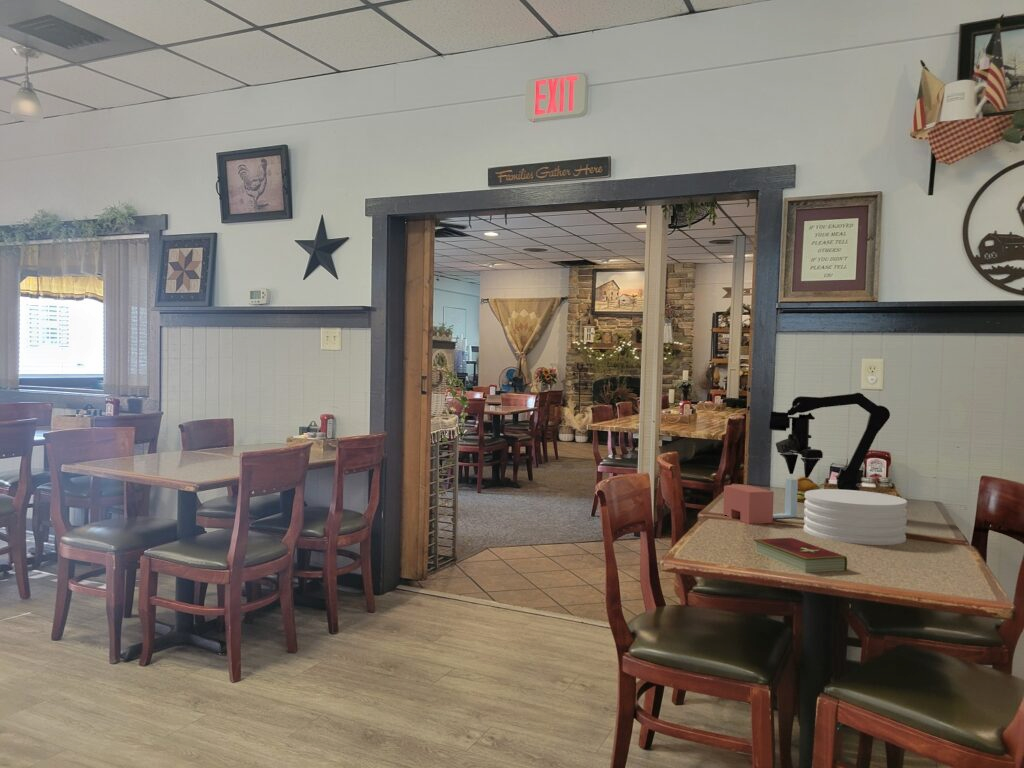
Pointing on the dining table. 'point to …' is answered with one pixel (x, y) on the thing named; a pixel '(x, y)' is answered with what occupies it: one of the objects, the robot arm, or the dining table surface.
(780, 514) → the light blue l-shaped piece
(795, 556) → the hardcover book
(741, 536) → the dining table surface
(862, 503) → the plate stack
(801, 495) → the cheeseburger
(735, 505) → the block
